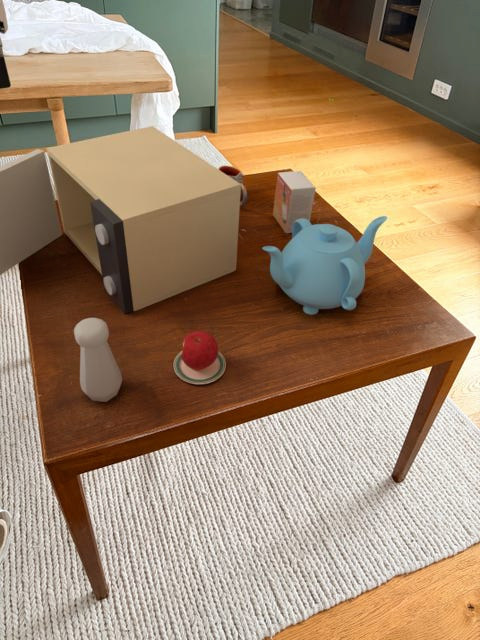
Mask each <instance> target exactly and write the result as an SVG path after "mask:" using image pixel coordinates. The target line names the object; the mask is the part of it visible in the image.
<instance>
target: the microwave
mask: <svg viewBox="0 0 480 640" xmlns="http://www.w3.org/2000/svg"><path fill="white" fill-rule="evenodd" d="M46 152H47V156H48V161H49V166H50V172H51V176H52V180H53V185H54V190H55V195H56V200H57V204H58V208H59V214H60V218H61V222H62V227H63V232H64V234H65V235H66V237H68V238H69V240H70V241H71V243H73V244H74V246H75V247H76V248H77V249H78V250H79V251H80V252H81V253H82V255H83V256H84V257H85V258H86V259H87V261H89V263H90V264H91V265H92V266H93V267H94V268H95V269H96V270H97V271H98V273H99V274H100V275H101V276H102V282H103V288H104V289H103V290H104V292H106V293H107V295H108V296H109V297H110V298H111V299H112V301H114V303H115V304H116V305H117V306H118V307H119V309H120V310H121V311H122V313H124V314H125V315H127V314H129V313H132V312H136V311H139V310H142V309H144V308H146V307H149V306H152V305H154V304H156V303H159V302H161V301H165V300H167V299H169V298H171V297H174V296H176V295H179V294H181V293H183V292H186V291H189V290H191V289H194V288H196V287H198V286H201V285H203V284H206V283H209V282H211V281H213V280H216V279H219V278H221V277H223V276H227V275H229V274H231V273H234V272H236V271H237V259H238V240H239V225H240V209H241V207H240V202H241V197H240V192H241V184H240V183H238V182H237V181H235V180H234V179H232V178H230V177H229V176H227V175H226V174H224V173H223V172H221V171H220V170H218V169H219V168H217V167H215V166H214V165H213V164H211V163H209V162H208V161H206V160H205V159H203V158H202V157H200V156H199V155H198V154H196V153H194V152H193V151H191V150H190V149H188V148H186V147H184V145H182V144H181V143H179V142H177V141H176V140H174V139H173V138H171V137H170V136H168V135H167V134H165V133H164V132H162V131H161V130H160V129H157V128H156V127H154V126H153V125H151V126H146V127H142V128H136V129H132V130H131V129H130V130H127V131H123V132H117V133H112V134H107V135H103V136H97V137H93V138H88V139H84V140H79V141H73V142H69V143H64V144H60V145H55V146H50V147H46Z"/></svg>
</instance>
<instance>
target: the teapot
mask: <svg viewBox="0 0 480 640" xmlns="http://www.w3.org/2000/svg"><path fill="white" fill-rule="evenodd" d="M387 220H388V216H386V215H382V216H378V217H376V218H375V219H373V220H371V221H370V223H368V225H367V226H366V229H365V230H364V232H363V233H362V236H360V239H359V240H358V241H356V240H355V238H354V236H353V235H352V234H351V233H350V232H349V231H348V230H345V229H343V228H342V227H339V226H337V225H335V224H332V223H316V224H312V223H311V220H310V221H309V220H307V219H304V218H301V219H297V220H296V221H295V222H294V223H293V228H292V233H291V239H290V240H289V242H288V243H287V244H286V245H285V247H284V248H283V250H282V251H281V250H280V249H279V248H278V247H276V246H274V245H273V246H272V245H265V246H263V247H262V248H261V249H262V250H263V251H265V252H266V253H268V254H269V256H270V265H269V273H270V276H271V278H272V280H273V281H274V282H275V283H276V284H277V285H279V287H280V288H281V290H282V291H283V293H284V294H285V295H286V296H288V297H289V298H290V299H291V300H292V301H294V302H296V303H297V304H299V305H301V306H302V311H303V312H304V313H305V314H307V315H310V316H311V315H313V316H314V315H316V314H318V313H319V310H330V309H331V310H332V309H335V308H340V307H342V308H343V309H344V310H346V311H353V310H354V309H356V307H357V300H356V299H357V298H358V297H359V296H360V295H361V293H362V291H363V289H364V287H365V282H366V267H365V264H366V263H367V262H368V260H369V259H370V258H371V256H372V252H373V248H374V242H375V237H376V234H377V232H378V230H379V228H380V227H381V226H382V225H383V224H384V223H385V222H386V221H387ZM302 228H303V230H302Z"/></svg>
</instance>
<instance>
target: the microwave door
mask: <svg viewBox="0 0 480 640" xmlns="http://www.w3.org/2000/svg"><path fill="white" fill-rule="evenodd" d="M46 157H47V156H46V153H45V151H44V150H42V149H38V148H37V149H35V150H32V151H30V152H28V153H26V154H24V155H21V156H19V157H18V158H15V159H13V160H11V161H9V162H7V163H4V164H2V165H0V276H1V275H4V274H5V273H6V272H7V271H9V270H11V269H12V268H14V267H15V266H16V265H18V264H20V263H21V262H23V261H25V260H26V259H27V258H29V257H30V256H32V255H34V254H35V253H37V252H38V251H40V250H41V249H43V248H44V247H46V246H47V245H49V244H50V243H52V242H53V241H55V240H56V239H58V238H59V237H61V236H63V231H62V227H61V222H60V217H59V212H58V208H57V204H56V199H55V195H54V191H53V185H52V181H51V176H50V171H49V166H48V162H47V158H46Z"/></svg>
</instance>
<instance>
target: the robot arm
mask: <svg viewBox="0 0 480 640" xmlns="http://www.w3.org/2000/svg"><path fill="white" fill-rule="evenodd" d="M8 25H9V24H8V18H7V13H6V8H5V4H4V0H0V34H2V35H5V34H6V33H7V31H8V30H9V26H8ZM8 88H11V80H10V76H9V71H8V67H7V64H6V59H5V56H4V51H3V42H2V38H1V37H0V90H4V89H8Z"/></svg>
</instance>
